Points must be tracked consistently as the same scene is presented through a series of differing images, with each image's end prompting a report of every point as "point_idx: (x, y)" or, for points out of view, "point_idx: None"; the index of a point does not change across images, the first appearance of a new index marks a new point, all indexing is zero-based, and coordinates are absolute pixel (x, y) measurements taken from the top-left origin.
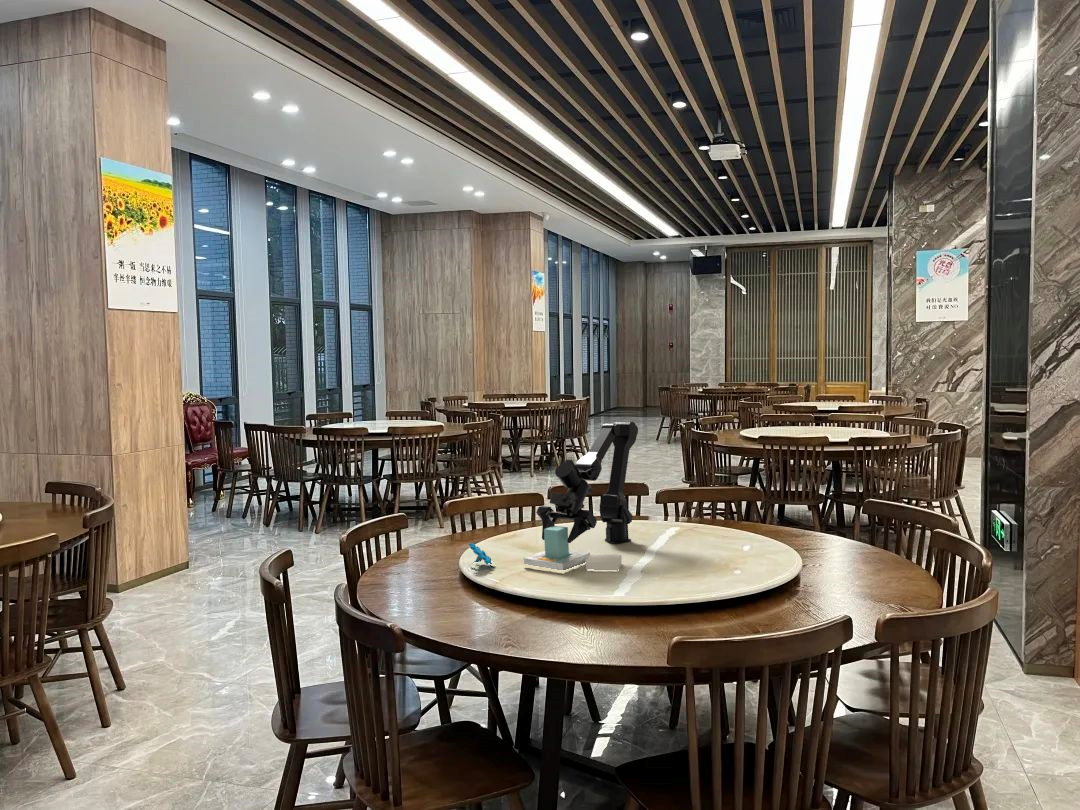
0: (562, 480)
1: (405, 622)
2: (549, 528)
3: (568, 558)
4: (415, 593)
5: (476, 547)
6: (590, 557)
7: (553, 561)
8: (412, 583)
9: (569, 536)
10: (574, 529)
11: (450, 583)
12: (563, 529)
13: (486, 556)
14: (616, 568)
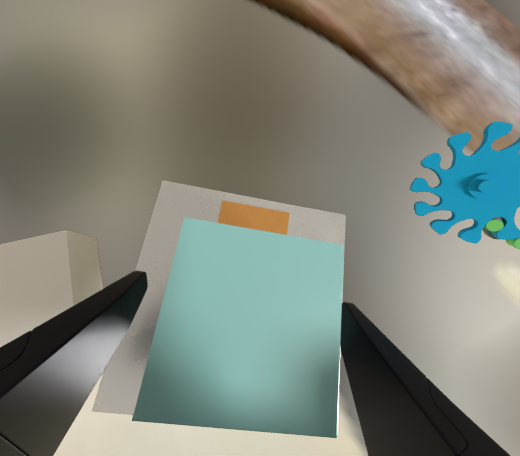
0: None
1: None
2: (312, 289)
3: (169, 260)
4: (417, 12)
5: None
6: (62, 308)
7: (213, 199)
8: (473, 61)
9: (114, 291)
10: (9, 346)
11: (407, 71)
12: (161, 320)
13: (471, 203)
14: None
